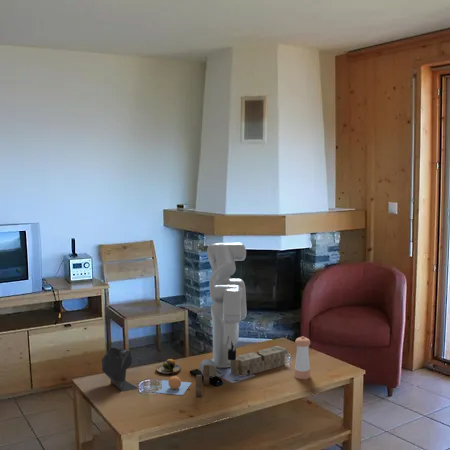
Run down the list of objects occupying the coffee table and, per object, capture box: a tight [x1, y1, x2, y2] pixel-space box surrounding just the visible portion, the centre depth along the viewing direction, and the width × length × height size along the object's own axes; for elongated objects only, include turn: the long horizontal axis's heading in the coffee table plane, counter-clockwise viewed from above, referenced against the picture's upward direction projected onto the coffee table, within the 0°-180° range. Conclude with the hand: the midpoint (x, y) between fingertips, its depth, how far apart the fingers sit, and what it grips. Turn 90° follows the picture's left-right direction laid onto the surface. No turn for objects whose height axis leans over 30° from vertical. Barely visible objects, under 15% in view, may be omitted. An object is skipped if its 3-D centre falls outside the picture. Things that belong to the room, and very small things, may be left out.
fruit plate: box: [155, 358, 182, 376], centre depth 268 cm, size 12×12×8 cm
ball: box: [168, 375, 182, 389], centre depth 247 cm, size 6×6×6 cm
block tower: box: [230, 345, 288, 377], centre depth 272 cm, size 8×8×29 cm
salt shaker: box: [293, 335, 311, 380], centre depth 260 cm, size 7×7×19 cm
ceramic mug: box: [199, 358, 224, 378], centre depth 261 cm, size 10×8×7 cm
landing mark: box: [153, 379, 192, 396], centre depth 248 cm, size 14×14×1 cm
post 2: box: [203, 365, 210, 387], centre depth 251 cm, size 3×3×9 cm
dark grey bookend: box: [101, 346, 139, 392], centre depth 250 cm, size 14×15×18 cm
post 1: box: [195, 374, 203, 398], centre depth 238 cm, size 3×3×9 cm
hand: (231, 359), depth 241 cm, fingers closed
